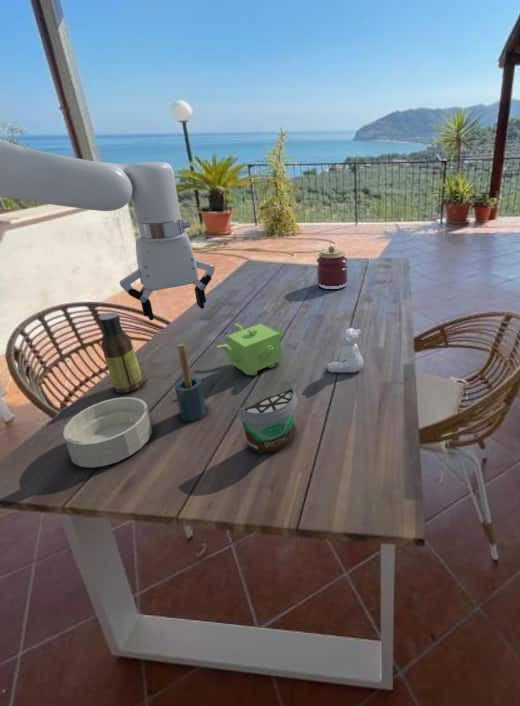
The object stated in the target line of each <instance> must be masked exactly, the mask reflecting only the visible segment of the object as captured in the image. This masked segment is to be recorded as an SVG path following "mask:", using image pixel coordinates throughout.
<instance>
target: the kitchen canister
mask: <svg viewBox="0 0 520 706" xmlns="http://www.w3.org/2000/svg"><path fill="white" fill-rule="evenodd" d="M345 256H346V253H345V252H344V251H342V250H341V249H337V248H335V246H334V245H330V246H329V247H328V249H323V250H322V251H320V252H319V253H318V257H317V258H316V262H317V267H316V269H317V284H318V283H319V284H321V285H325V286H339V285H343V284H345V283H346V282H347V283H348V265H347V261H348V258H347V257H345Z"/></svg>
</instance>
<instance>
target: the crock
mask: <svg viewBox="0 0 520 706" xmlns="http://www.w3.org/2000/svg"><path fill="white" fill-rule="evenodd" d="M190 377H191V383H192V387H190V388H185V384H184V378H183V379H181V380H179V381H178V382H176V384H174V385H175V386H174V390H175V396H176V401H177V405H178V406H177V407H178V411H179V416H180V418H181V420H182V421H184V422H188V423H189V422H190V423H191V422H195V421H198V420H201V418H203V417H204V416H205V415H206V412H207V411H206V403H205V402H206V401H205V396H204V389H203V385H202V380H201V379H200V378H199V377H193V376H190Z"/></svg>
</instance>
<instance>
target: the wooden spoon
mask: <svg viewBox="0 0 520 706" xmlns="http://www.w3.org/2000/svg"><path fill="white" fill-rule="evenodd" d="M177 351H178V355H179V361H180V366H181V372H182V378H183V379H184V384H185V388H190V387H192V383H191V377H192V376H191V371H190V366H189V360H188V355H187V349H186V344H185V343H184V342H183V343H182V342H181V343H179V344H177Z"/></svg>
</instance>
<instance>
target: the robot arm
mask: <svg viewBox="0 0 520 706" xmlns="http://www.w3.org/2000/svg"><path fill="white" fill-rule="evenodd" d="M175 179H176V178H175V173H174V170H173V167H172V166H171V164H169V163H167V162H165V161H139V162H138V161H137V162H132V163H118V162H106V161H93V160H88V159H84V158H83V159H82V158H77V157H72V156H67V155H62V154H57V153H51V152H47V151H42V150H37V149H33V148H31V147H30V148H29V147H26V146H21V145H19V144H15V143H13V142H11V141H8V140H5V139H0V198H5V199H14V200H22V201H27V202H33V203H40V204H46V205H52V206H60V207H66V208H67V207H68V208H75V209H82V210H89V211H90V210H91V211H97V212H98V211H100V212H113V211H118V210H120V209H122V208H124V207H125V206H127V204H128V203H129V202H132V204H133V208H134V212H135V217H136V224H137V228H138V233H139V237H138V238H137V237H136V239H135V255H136V263H137V269H136V270H135V271H133V272H131V273H130V274H128V275H127V276H126V277H124V278H122V279H120V281H119V285H120V287H121V288H122V289H123V290H124V291H125V292H126V293H127V294H128V295H129V296H130V297H132V298H134V299H136V300H137V301H139V302H140V304H141V309H142V313H143V316H144V317H148V319H149V321H154V319H155V317H154V312H153V307H152V303H151V300H150V299H149V298H150V296H151V294H152V293H153V292H155V291H163V290H167V289H172V288H176V287H182V286H186V285H191V284H192V285H194V286H195V287H194V294H195V301H196V305H197V306H198V308H200V309H201V310H202V309H205V304H206V303H207V299H206V292H205V290H206V288H207V286H208V284H209V283H210V282H211V281H212V277H213V275H214V272H215V270H216V269H215V268H216V267H215V266H214V265H212V264H209V263H206V262H203V261H200V260H196V258H195V254H194V249H193V246H192V244H191V241H190V238H189V236H188V234H187V233H186V232H185V231H186V230H187V229H190V228H191V222H190V220H184V219H183V218H182V215H181V210H180V209H181V208H180V203H179V198H178V192H177V185H176V180H175ZM198 269H200V270H204V271H205V272H204V275H203V276H202V277H201V278H200V279H199V270H198ZM137 280H139V281H140V283H141V285H142V287H141V289H140V290H138V289H136V288H134V287H133V286H132V284H133V283H135V282H136V281H137Z"/></svg>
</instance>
